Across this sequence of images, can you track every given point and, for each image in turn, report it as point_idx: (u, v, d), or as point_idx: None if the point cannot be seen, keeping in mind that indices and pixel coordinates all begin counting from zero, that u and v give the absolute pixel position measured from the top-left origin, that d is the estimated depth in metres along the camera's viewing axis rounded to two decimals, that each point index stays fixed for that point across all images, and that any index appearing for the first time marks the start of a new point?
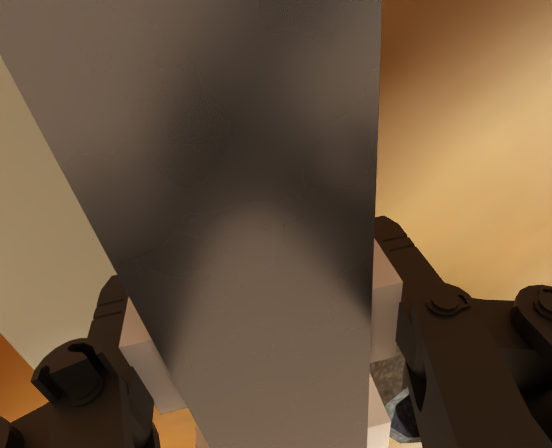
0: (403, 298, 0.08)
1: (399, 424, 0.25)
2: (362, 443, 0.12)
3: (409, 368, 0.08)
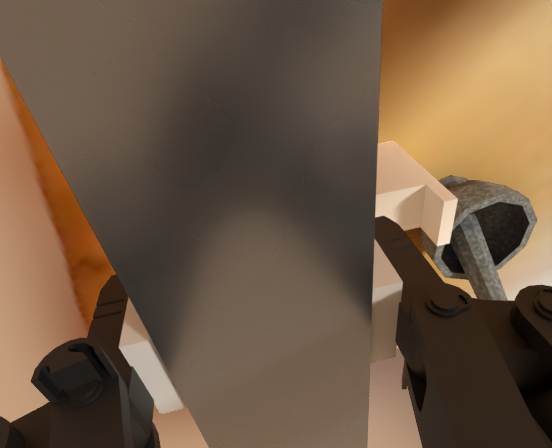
0: (403, 298, 0.08)
1: None
2: (362, 444, 0.12)
3: (409, 368, 0.08)
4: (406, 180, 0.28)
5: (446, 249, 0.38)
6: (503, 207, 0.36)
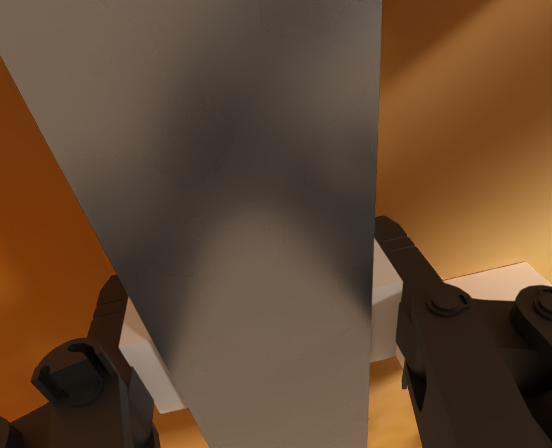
0: (403, 298, 0.08)
1: None
2: (362, 444, 0.12)
3: (409, 368, 0.08)
4: None
5: None
6: None
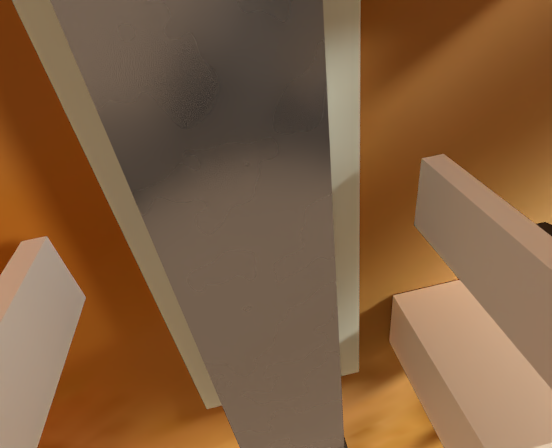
0: None
1: None
2: (336, 373, 0.14)
3: None
4: None
5: None
6: None
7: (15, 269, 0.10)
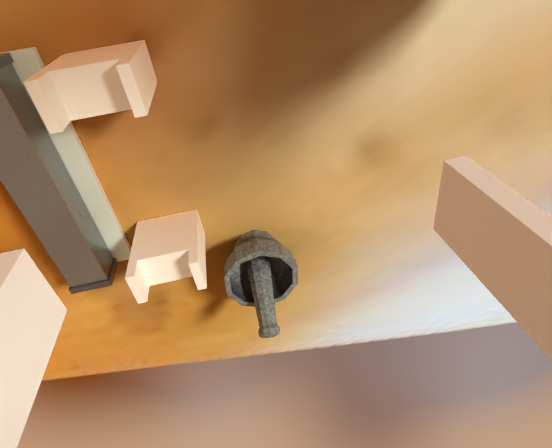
0: None
1: (242, 296, 0.50)
2: (82, 237, 0.41)
3: None
4: (179, 245, 0.42)
5: None
6: None
7: None
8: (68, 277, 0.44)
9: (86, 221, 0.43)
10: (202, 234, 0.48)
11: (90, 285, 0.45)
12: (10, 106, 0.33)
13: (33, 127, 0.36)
